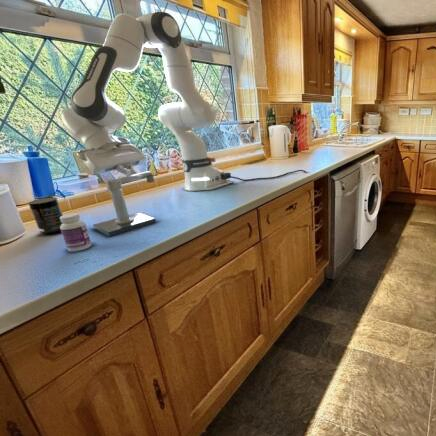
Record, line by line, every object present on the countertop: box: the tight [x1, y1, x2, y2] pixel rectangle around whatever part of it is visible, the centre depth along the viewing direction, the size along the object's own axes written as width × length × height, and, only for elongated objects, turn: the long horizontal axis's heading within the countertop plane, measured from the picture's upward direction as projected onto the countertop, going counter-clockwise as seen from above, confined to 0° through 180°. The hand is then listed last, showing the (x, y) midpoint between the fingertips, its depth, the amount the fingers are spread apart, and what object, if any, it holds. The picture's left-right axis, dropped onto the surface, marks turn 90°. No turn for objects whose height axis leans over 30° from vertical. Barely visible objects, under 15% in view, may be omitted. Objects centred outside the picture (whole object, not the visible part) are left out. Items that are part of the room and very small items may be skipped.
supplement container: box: [28, 197, 64, 236], centre depth 95 cm, size 7×7×10 cm
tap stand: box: [92, 188, 157, 237], centre depth 98 cm, size 14×12×12 cm
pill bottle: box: [60, 212, 92, 252], centre depth 83 cm, size 5×5×10 cm
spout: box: [105, 170, 155, 192], centre depth 102 cm, size 17×4×4 cm, turn 165°
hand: (132, 175), depth 107 cm, fingers closed
